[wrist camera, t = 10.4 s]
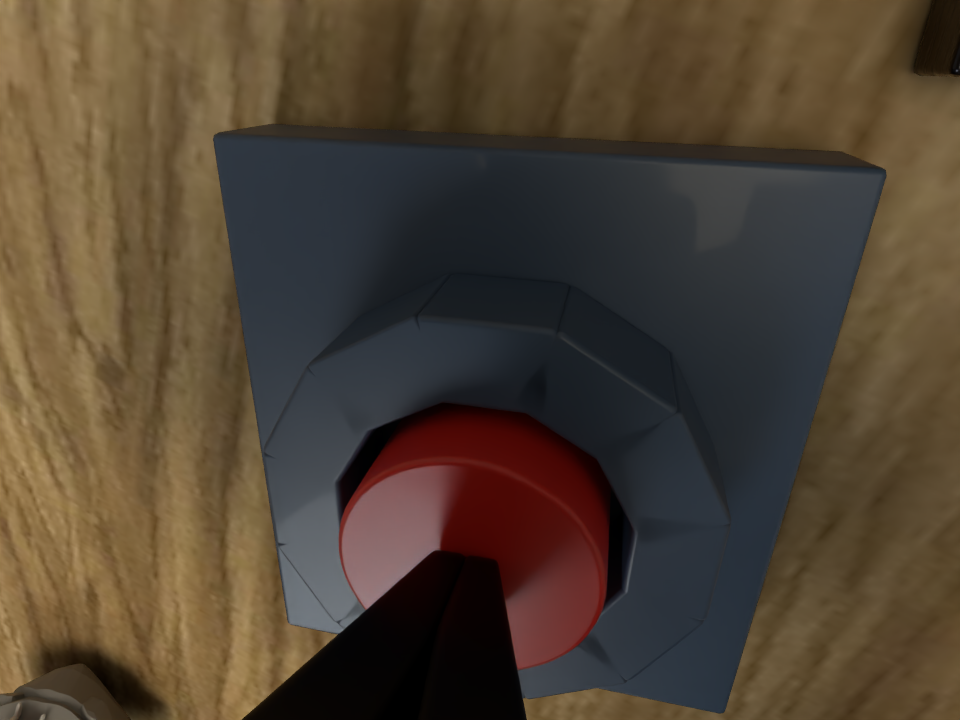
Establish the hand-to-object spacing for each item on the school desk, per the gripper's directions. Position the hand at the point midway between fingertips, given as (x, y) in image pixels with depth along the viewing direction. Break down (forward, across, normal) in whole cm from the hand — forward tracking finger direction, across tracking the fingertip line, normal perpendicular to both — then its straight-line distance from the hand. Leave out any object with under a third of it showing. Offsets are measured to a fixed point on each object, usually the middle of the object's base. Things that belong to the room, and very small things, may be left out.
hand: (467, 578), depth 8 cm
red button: (+2, 0, 0) cm, 2 cm away
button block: (+4, 0, 0) cm, 4 cm away
